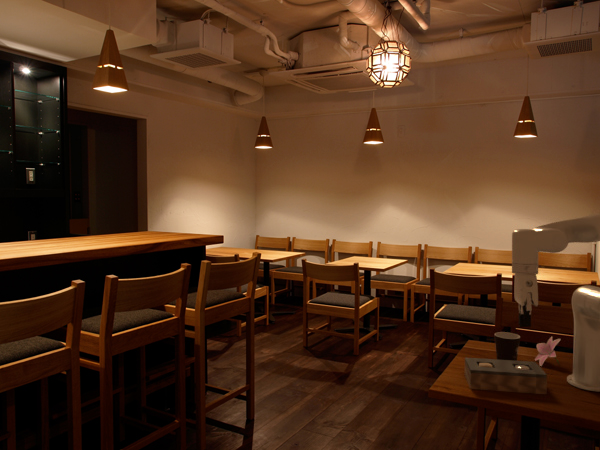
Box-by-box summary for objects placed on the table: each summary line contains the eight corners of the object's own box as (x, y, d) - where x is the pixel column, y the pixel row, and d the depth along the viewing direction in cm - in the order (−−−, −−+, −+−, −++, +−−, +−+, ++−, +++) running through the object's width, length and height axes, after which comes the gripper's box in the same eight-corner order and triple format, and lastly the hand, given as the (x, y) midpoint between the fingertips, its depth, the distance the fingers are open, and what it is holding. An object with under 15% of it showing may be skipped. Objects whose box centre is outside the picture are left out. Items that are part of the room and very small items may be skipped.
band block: (534, 379, 156) (535, 361, 156) (546, 394, 145) (546, 374, 144) (464, 375, 160) (464, 357, 160) (470, 388, 149) (470, 369, 148)
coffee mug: (509, 368, 167) (510, 340, 167) (488, 361, 175) (489, 334, 174) (530, 362, 173) (530, 335, 172) (509, 356, 180) (509, 330, 180)
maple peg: (490, 379, 155) (490, 363, 155) (493, 384, 151) (493, 367, 151) (477, 378, 156) (477, 362, 156) (479, 383, 152) (480, 366, 152)
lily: (538, 358, 181) (527, 337, 180) (571, 351, 175) (560, 329, 173) (538, 378, 171) (526, 355, 170) (573, 371, 164) (561, 348, 163)
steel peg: (526, 382, 153) (527, 365, 153) (530, 386, 149) (530, 369, 149) (513, 381, 154) (513, 364, 154) (516, 386, 150) (517, 368, 150)
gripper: (545, 272, 142) (544, 333, 143) (530, 265, 156) (530, 320, 157) (518, 272, 143) (518, 332, 144) (506, 265, 158) (506, 320, 159)
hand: (524, 326), depth 151 cm, fingers closed
